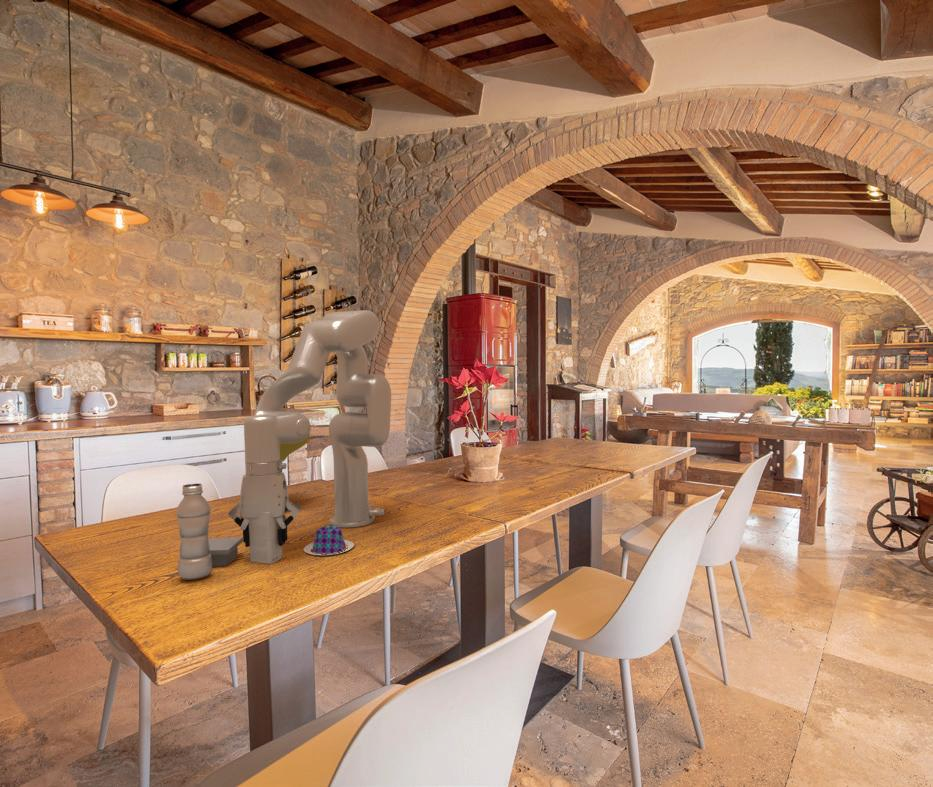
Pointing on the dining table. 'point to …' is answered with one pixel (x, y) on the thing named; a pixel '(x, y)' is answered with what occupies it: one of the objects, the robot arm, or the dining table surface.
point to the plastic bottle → (194, 534)
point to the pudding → (328, 541)
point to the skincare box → (264, 539)
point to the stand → (223, 550)
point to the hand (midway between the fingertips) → (265, 544)
